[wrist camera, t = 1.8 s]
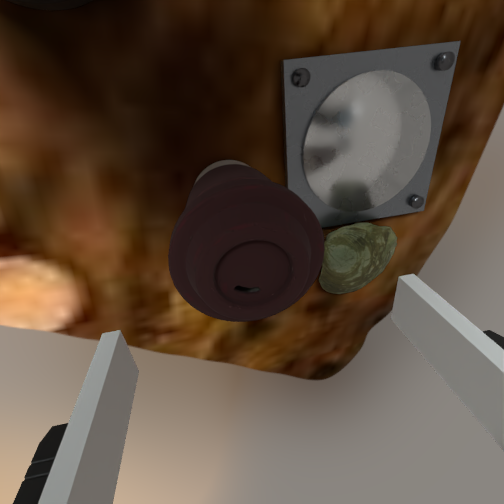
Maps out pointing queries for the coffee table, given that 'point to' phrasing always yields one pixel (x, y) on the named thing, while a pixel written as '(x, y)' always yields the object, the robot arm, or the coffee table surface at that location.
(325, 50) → the coffee table surface
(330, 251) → the seashell
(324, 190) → the duct flange
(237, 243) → the coffee cup
